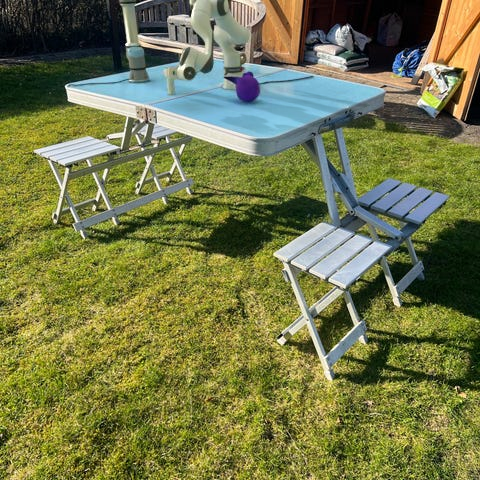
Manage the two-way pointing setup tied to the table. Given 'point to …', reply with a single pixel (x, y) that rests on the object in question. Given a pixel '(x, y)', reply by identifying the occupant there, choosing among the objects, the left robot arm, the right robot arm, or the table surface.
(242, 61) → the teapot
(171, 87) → the cream long cylinder
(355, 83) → the table surface
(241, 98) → the toy
